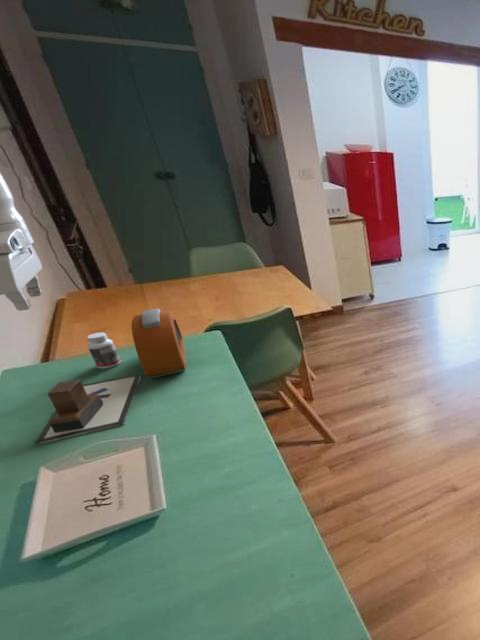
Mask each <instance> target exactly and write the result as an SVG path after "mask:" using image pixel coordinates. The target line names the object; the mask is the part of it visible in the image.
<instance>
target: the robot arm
mask: <svg viewBox="0 0 480 640" xmlns="http://www.w3.org/2000/svg"><path fill="white" fill-rule="evenodd" d="M14 200H15V199H14V195H13V193H12V191H11V189H10V187H9V185H8V183H7V182H6V180H5V178H4V176H3V174H2V172H0V296H3V295H4V296H5V297H6V299H8V300H9V301H10V302H11V303H12V304H13V305H14V307H15V309H16V310H17V311H19V312H21V311H27V310H29V309H31V305H32V304H31V303H30V301H29V298H28V299H27V298H26V297H25V295H24V291H23V289H24V288H25V287H26V292H27V294H28V297H31V298H33V297H34V298H35V297H40V296H41V295H43V291H42V289H41V286H40V280H39V276H38V273H40V271H42V269H43V264H42V262H41V259H40V258H39V256H38V254H37V252H36V250H35V248H34V246H33V245H32V244H34V243H35V240H34V238H33V236H32V234H31V232H30V230H29V228H28V225H27V224H26V223H27V222H26V221H25V219H24V218H23V215H22V214H21V213H19V211H18V210H17V208H16V205H15V201H14Z"/></svg>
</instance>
